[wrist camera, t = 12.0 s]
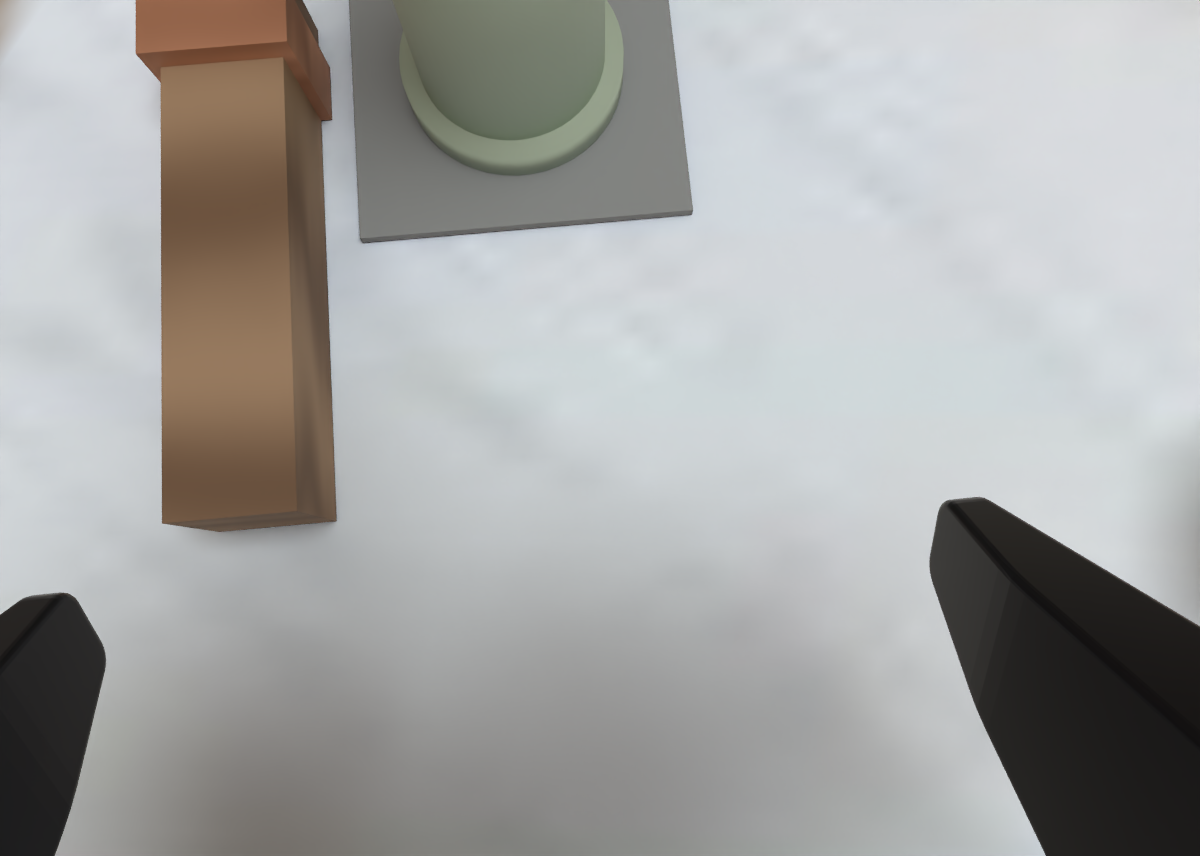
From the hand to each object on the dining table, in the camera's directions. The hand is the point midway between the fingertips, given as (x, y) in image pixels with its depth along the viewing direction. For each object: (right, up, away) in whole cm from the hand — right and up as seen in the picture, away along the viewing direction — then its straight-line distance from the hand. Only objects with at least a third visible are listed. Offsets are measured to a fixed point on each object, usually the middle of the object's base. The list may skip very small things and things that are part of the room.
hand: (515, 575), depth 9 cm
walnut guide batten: (-8, +6, +15) cm, 18 cm away
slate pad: (-1, +11, +16) cm, 19 cm away
